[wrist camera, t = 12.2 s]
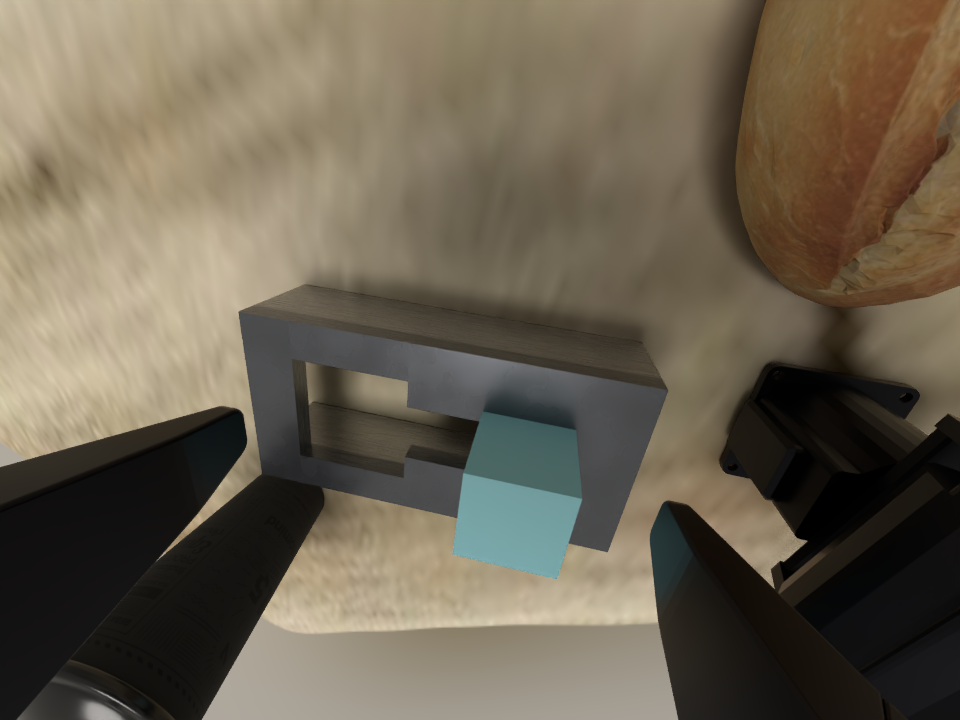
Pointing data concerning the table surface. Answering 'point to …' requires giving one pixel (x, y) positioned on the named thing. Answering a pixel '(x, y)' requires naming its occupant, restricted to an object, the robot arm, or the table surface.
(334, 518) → the table surface
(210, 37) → the table surface
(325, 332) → the keyhole plate
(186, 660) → the drinking cup
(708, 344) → the table surface
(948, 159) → the bread roll
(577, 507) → the peg
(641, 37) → the table surface
